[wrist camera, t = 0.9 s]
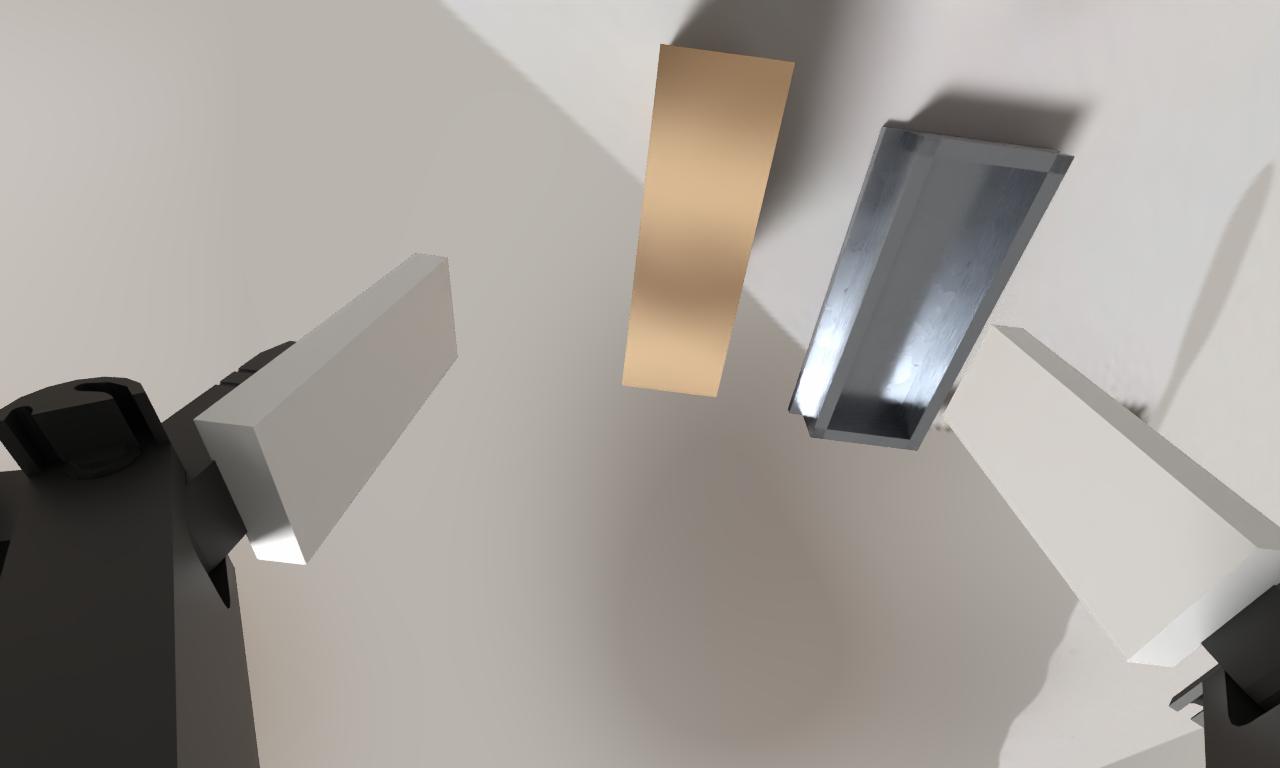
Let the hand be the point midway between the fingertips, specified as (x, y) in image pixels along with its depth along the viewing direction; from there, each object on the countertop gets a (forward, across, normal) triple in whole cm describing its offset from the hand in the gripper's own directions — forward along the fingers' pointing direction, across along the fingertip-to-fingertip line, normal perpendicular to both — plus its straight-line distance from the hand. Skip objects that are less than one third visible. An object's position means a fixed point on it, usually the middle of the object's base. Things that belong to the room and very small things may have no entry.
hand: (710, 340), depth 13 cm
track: (+18, +14, -5) cm, 24 cm away
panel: (+19, 0, 0) cm, 19 cm away
